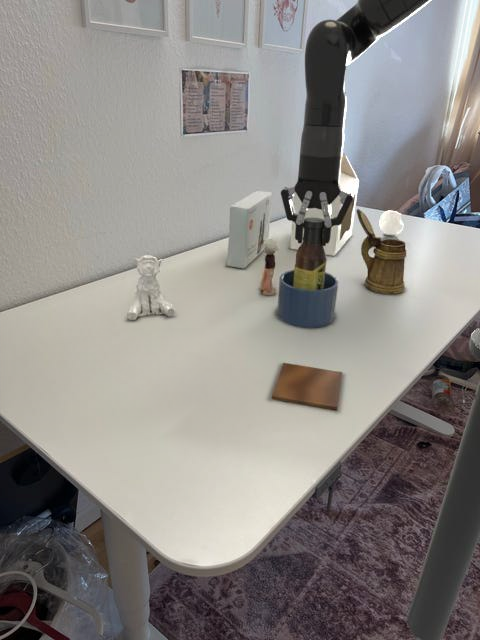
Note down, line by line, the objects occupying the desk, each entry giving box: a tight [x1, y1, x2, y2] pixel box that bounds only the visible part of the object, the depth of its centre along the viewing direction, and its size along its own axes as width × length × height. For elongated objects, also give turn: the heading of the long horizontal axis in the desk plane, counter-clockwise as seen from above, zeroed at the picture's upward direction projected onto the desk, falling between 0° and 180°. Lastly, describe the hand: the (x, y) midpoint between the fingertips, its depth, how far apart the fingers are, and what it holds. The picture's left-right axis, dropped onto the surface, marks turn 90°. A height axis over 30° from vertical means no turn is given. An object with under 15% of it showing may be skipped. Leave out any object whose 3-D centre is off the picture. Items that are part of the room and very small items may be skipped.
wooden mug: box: [356, 208, 407, 295], centre depth 112 cm, size 9×14×18 cm, turn 69°
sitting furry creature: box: [126, 254, 175, 321], centre depth 98 cm, size 10×9×12 cm
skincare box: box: [226, 190, 273, 269], centre depth 129 cm, size 21×6×16 cm, turn 160°
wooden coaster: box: [271, 362, 343, 411], centre depth 77 cm, size 10×10×1 cm
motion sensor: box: [378, 209, 404, 236], centre depth 152 cm, size 8×8×8 cm
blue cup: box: [277, 269, 339, 329], centre depth 99 cm, size 12×12×8 cm
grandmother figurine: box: [259, 238, 280, 296], centre depth 108 cm, size 8×4×13 cm, turn 12°
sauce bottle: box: [293, 217, 328, 290], centre depth 96 cm, size 6×6×20 cm
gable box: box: [289, 152, 360, 257], centre depth 139 cm, size 22×13×28 cm, turn 156°
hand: (312, 243), depth 94 cm, fingers closed on sauce bottle, 4 cm apart
